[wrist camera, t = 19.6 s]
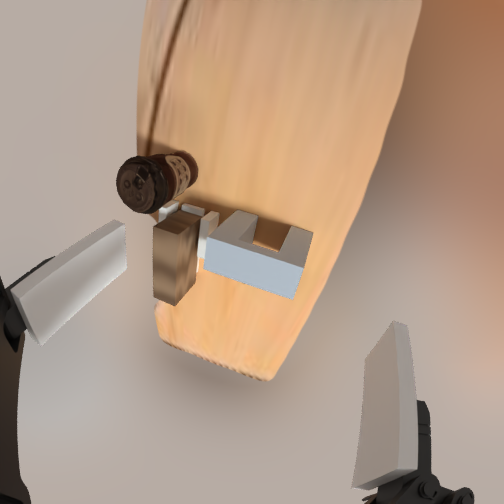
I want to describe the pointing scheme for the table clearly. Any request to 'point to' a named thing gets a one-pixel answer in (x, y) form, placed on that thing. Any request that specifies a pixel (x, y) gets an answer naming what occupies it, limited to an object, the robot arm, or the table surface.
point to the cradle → (206, 225)
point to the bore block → (257, 255)
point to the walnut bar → (175, 256)
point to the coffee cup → (155, 180)
